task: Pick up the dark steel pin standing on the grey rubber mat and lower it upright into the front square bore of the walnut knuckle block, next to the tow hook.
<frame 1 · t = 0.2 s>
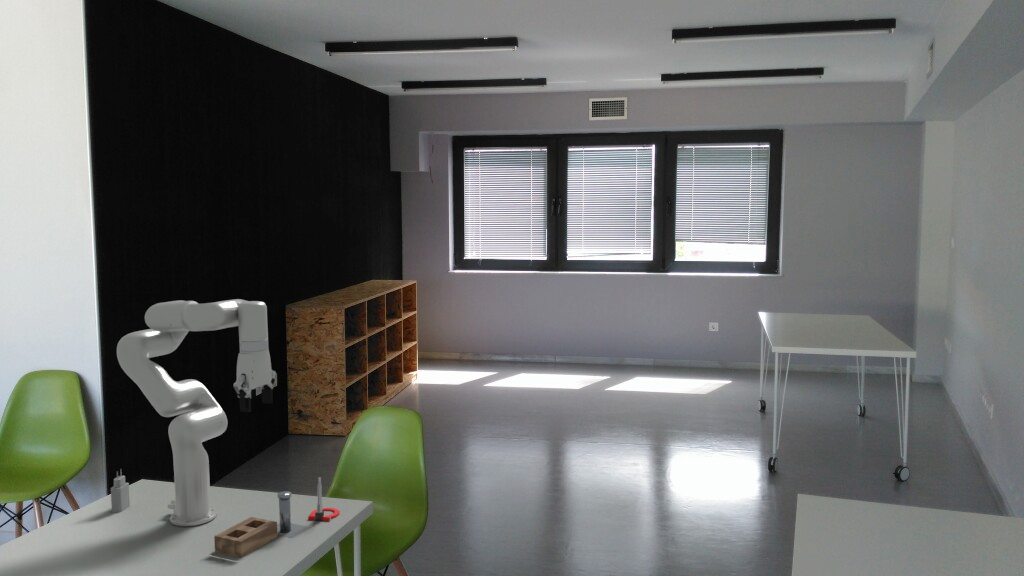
hand: (256, 407, 216), 36 cm above the table, tool pointing down, fingers open, 9 cm apart
mat: (287, 530, 221), on the table
power adapter: (120, 509, 237), on the table
tow hook: (324, 516, 232), on the table
block: (246, 544, 212), on the table
pin: (285, 530, 220), resting on mat
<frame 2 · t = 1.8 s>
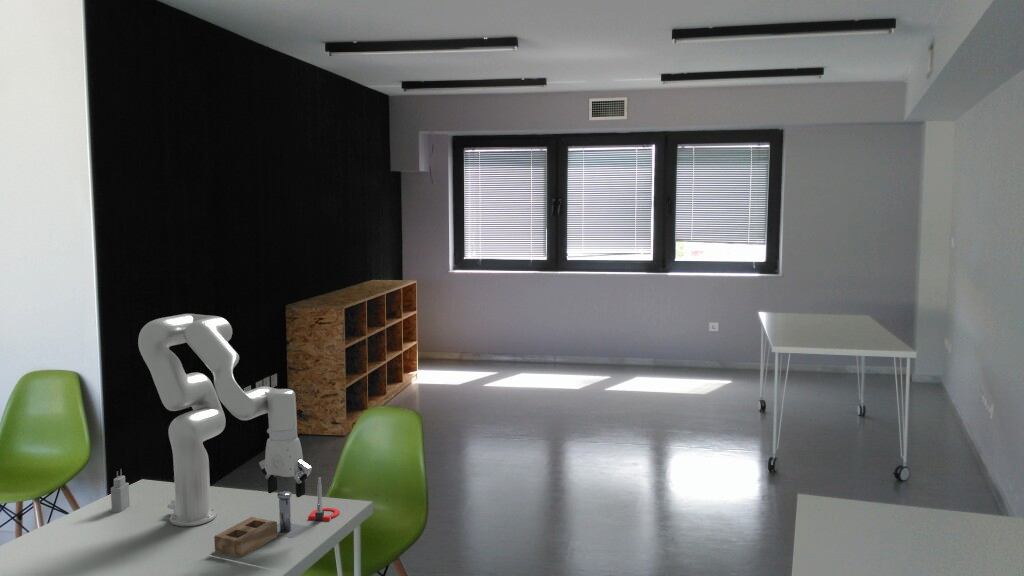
hand: (286, 493, 219), 11 cm above the table, tool pointing down, fingers open, 9 cm apart
nothing on the table moved.
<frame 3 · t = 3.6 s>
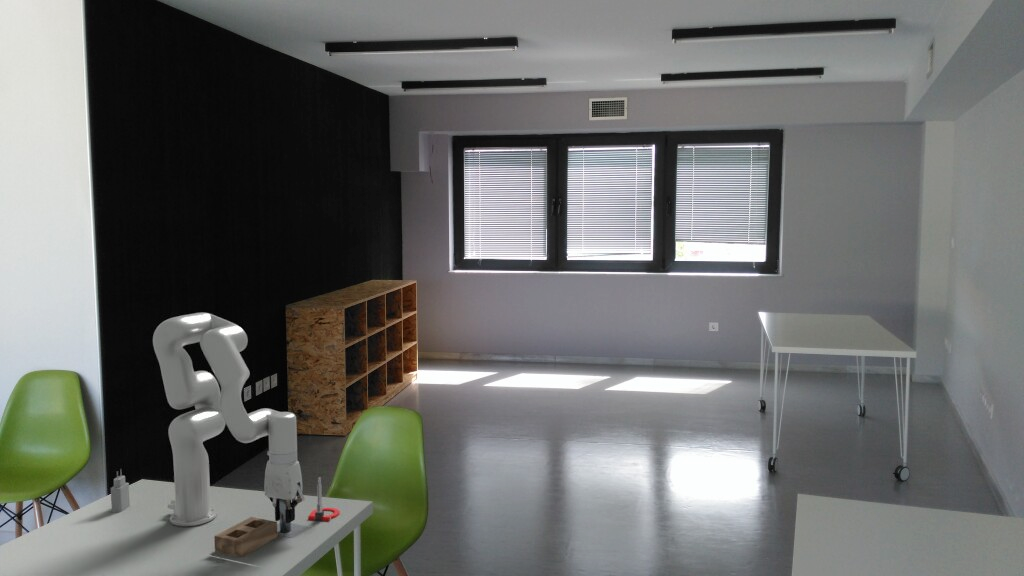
hand: (285, 519, 220), 4 cm above the table, tool pointing down, fingers closed on pin, 3 cm apart
pin: (285, 530, 220), resting on mat, touching gripper
everything else where it was.
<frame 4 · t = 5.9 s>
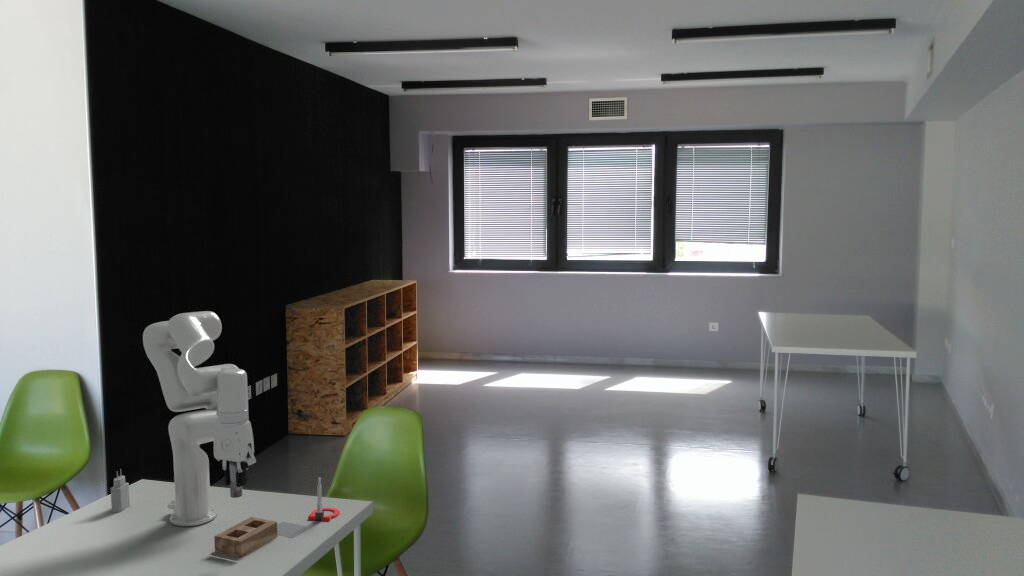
hand: (236, 483, 206), 18 cm above the table, tool pointing down, fingers closed on pin, 3 cm apart
pin: (236, 495, 207), point 15 cm above the table, touching gripper
everything else where it was.
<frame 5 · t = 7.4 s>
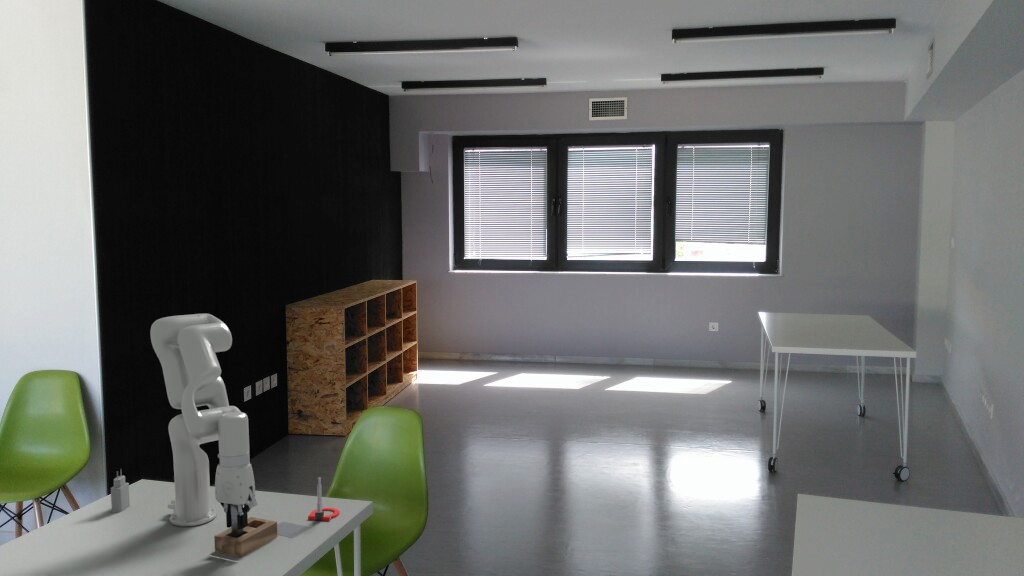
hand: (237, 526, 208), 7 cm above the table, tool pointing down, fingers closed on pin, 3 cm apart
pin: (237, 537, 208), point 3 cm above the table, touching gripper
everything else where it was.
when the fingers open (5 cm above the table, at t = 8.3 s): pin drops 1 cm, resting on block.
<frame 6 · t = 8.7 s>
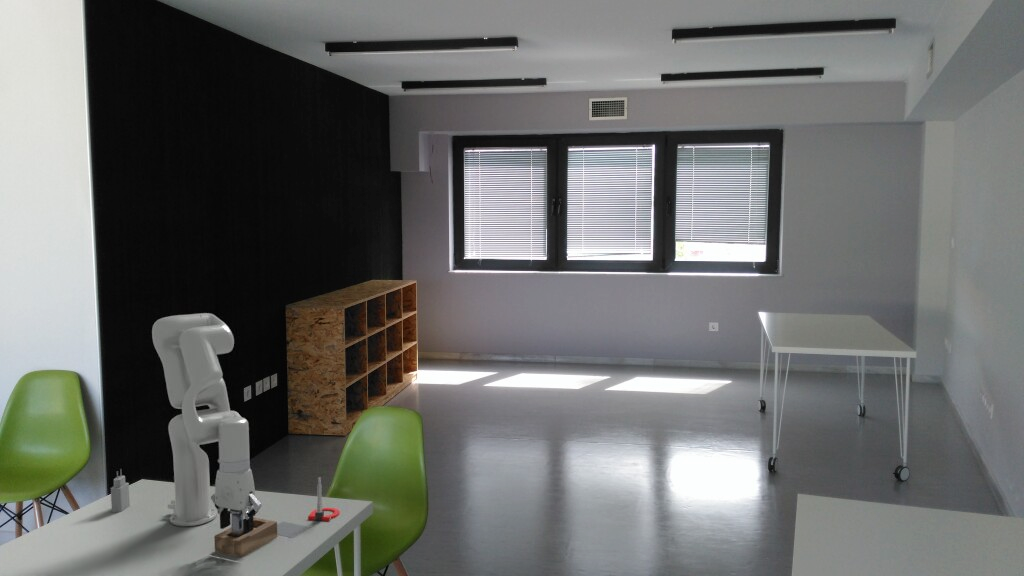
hand: (236, 528, 208), 6 cm above the table, tool pointing down, fingers open, 7 cm apart
pin: (237, 547, 208), point 1 cm above the table, touching block
everything else where it was.
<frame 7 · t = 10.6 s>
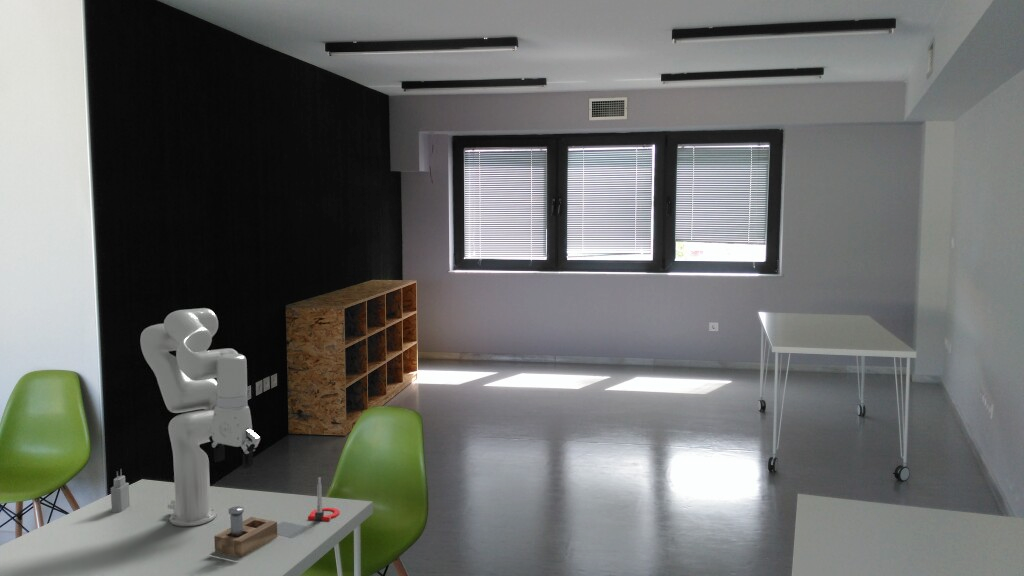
hand: (233, 463, 208), 23 cm above the table, tool pointing down, fingers open, 9 cm apart
nothing on the table moved.
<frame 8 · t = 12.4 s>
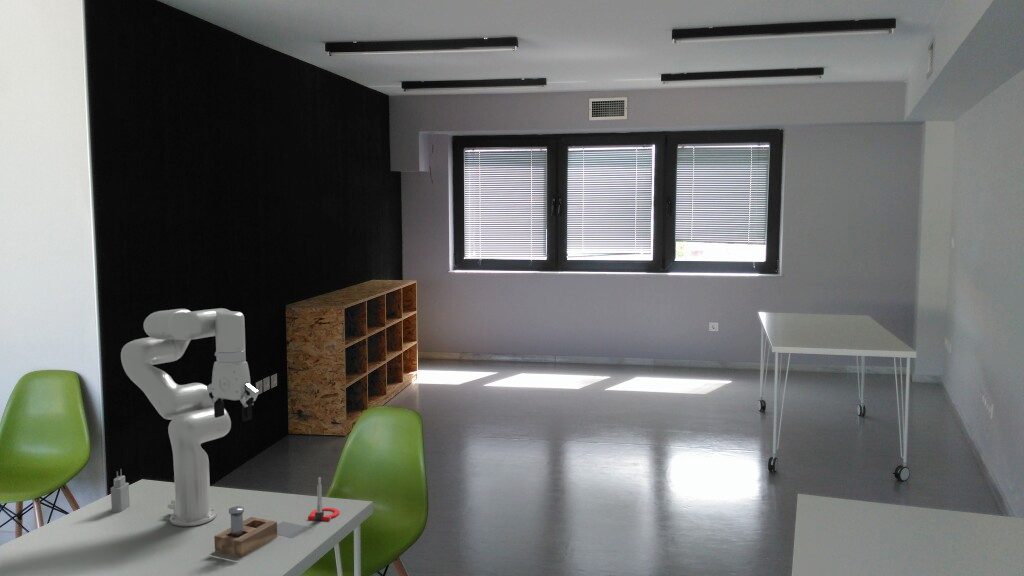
hand: (233, 418, 215), 33 cm above the table, tool pointing down, fingers open, 9 cm apart
nothing on the table moved.
at the end: pin 0.0 cm from the target spot on the block, point 0.5 cm above the block's base; pin tilted 0°; the gripper is holding nothing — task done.
